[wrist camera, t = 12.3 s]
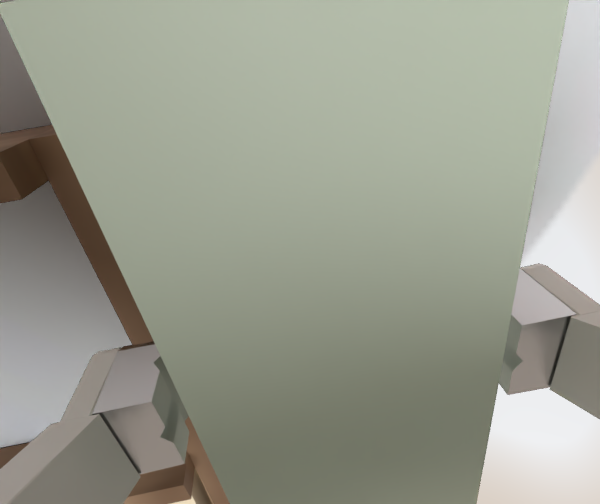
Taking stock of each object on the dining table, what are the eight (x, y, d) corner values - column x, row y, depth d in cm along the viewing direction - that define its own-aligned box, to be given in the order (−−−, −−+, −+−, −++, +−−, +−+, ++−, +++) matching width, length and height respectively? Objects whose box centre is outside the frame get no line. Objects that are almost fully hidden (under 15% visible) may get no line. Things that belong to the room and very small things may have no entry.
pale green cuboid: (267, 333, 17) (289, 631, 8) (190, 32, 11) (-5, 4, 2) (352, 316, 17) (459, 592, 9) (322, 10, 11) (586, -93, 3)
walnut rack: (18, 561, 25) (-19, 643, 22) (-414, 206, 12) (-681, 273, 8) (257, 508, 26) (259, 581, 22) (101, 116, 13) (46, 144, 9)
